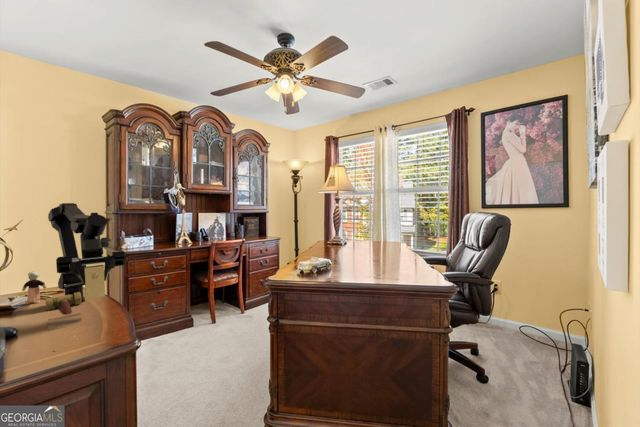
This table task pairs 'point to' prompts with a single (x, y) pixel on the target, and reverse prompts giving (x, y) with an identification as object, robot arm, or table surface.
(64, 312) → the gavel
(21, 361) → the table surface
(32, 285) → the grandmother figurine
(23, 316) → the table surface
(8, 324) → the table surface
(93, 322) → the table surface
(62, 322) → the tan flat block
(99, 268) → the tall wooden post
